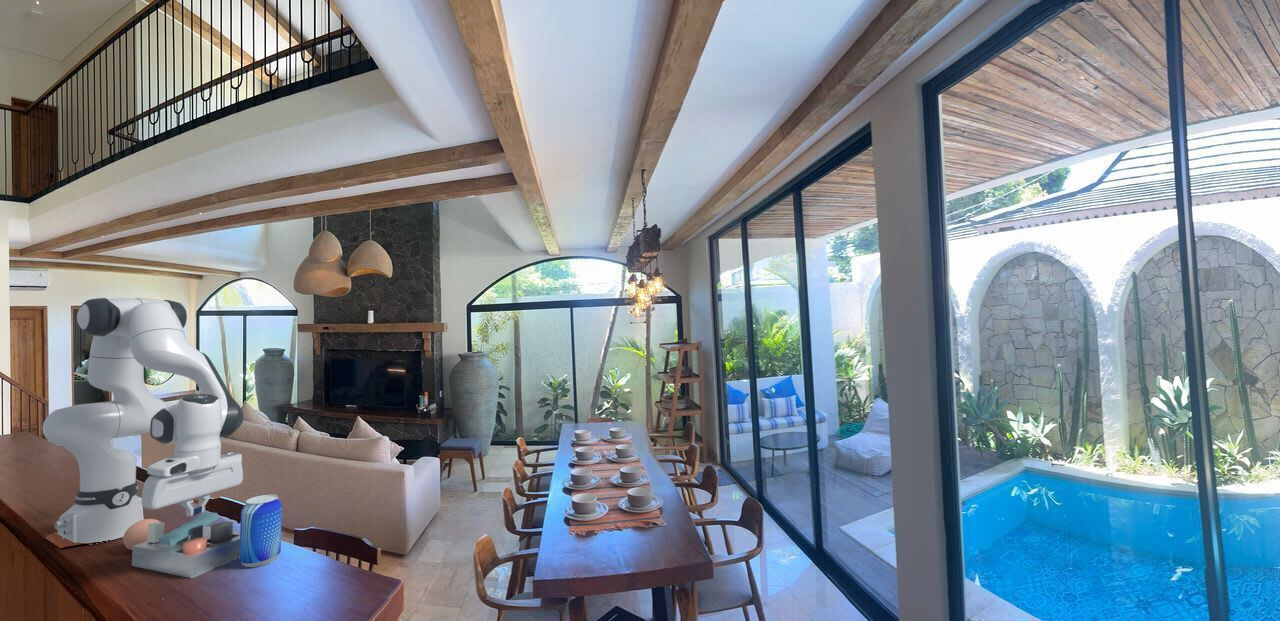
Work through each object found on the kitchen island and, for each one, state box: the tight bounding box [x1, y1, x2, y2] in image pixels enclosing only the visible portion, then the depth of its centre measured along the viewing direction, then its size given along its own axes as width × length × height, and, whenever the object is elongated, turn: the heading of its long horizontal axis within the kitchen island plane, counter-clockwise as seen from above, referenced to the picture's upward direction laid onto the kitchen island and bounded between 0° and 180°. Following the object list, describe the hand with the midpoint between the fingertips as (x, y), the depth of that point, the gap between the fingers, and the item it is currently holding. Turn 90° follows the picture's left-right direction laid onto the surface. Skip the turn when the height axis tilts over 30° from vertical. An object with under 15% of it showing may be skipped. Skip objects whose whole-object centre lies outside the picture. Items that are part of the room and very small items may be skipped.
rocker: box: [159, 511, 220, 546], centre depth 126 cm, size 4×11×2 cm, turn 164°
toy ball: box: [122, 518, 161, 551], centre depth 131 cm, size 8×8×8 cm
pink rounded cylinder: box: [183, 537, 207, 555], centre depth 121 cm, size 4×4×6 cm
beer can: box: [238, 494, 283, 568], centre depth 125 cm, size 8×8×16 cm
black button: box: [210, 521, 234, 544], centre depth 127 cm, size 4×4×6 cm
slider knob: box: [147, 521, 166, 543], centre depth 125 cm, size 3×2×4 cm
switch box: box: [131, 523, 240, 579], centre depth 126 cm, size 22×14×8 cm, turn 74°
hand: (195, 514), depth 121 cm, fingers closed
